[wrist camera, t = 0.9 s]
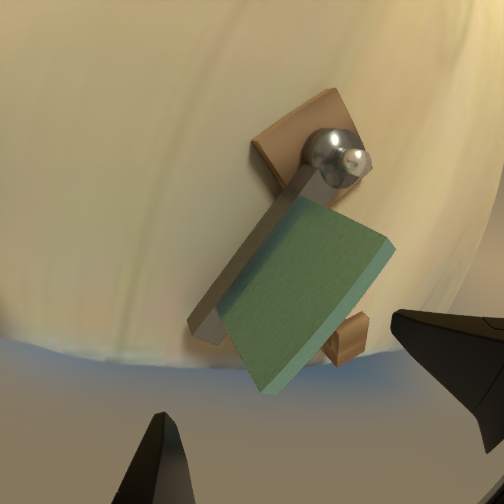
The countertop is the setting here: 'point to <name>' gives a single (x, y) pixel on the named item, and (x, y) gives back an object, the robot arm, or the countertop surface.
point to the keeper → (347, 339)
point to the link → (296, 268)
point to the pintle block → (302, 135)
